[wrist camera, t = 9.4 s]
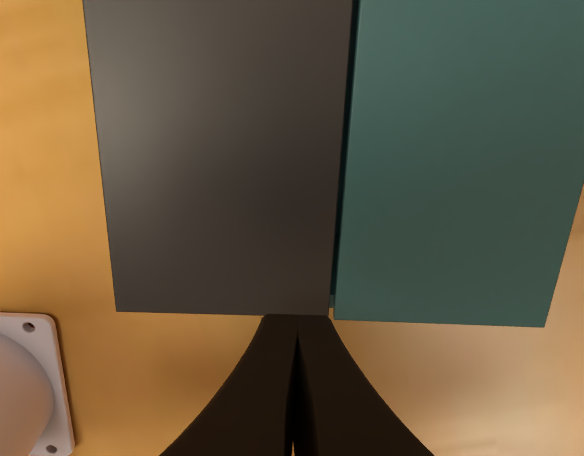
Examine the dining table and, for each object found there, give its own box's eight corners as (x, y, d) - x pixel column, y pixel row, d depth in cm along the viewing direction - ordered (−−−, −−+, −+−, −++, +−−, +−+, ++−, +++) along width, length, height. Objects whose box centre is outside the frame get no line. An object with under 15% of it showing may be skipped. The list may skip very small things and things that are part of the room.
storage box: (164, 232, 21) (113, 313, 15) (140, -148, 16) (50, -249, 10) (476, 244, 21) (546, 329, 15) (550, -129, 16) (697, -217, 10)
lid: (119, 306, 15) (115, 312, 15) (62, -236, 10) (55, -244, 10) (327, 311, 15) (328, 317, 15) (368, -219, 10) (371, -226, 10)
